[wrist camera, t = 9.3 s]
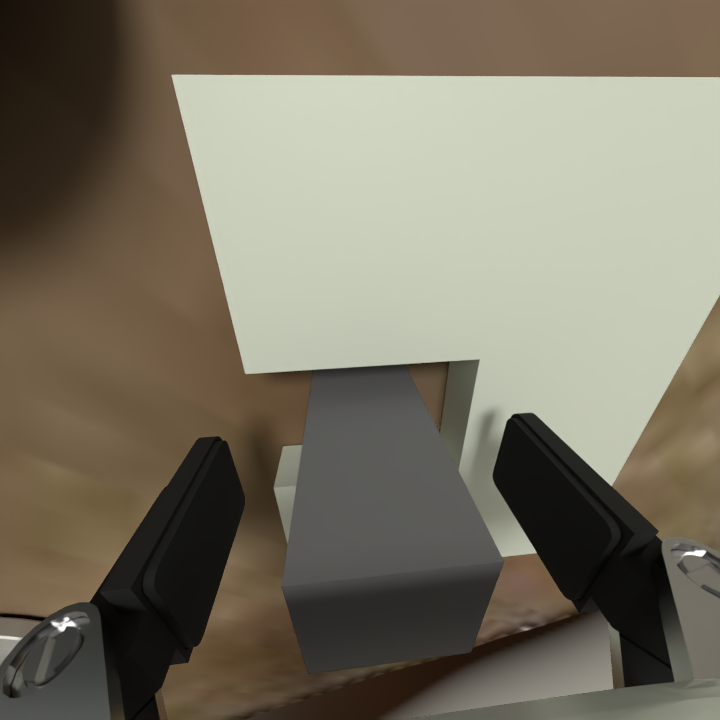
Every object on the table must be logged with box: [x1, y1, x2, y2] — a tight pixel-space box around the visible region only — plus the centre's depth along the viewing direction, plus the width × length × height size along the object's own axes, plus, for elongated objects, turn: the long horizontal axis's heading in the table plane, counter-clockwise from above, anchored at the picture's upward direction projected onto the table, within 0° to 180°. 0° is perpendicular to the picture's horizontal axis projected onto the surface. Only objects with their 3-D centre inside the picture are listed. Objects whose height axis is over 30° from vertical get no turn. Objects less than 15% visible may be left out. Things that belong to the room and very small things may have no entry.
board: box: [172, 75, 720, 557], centre depth 12 cm, size 20×16×2 cm
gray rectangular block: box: [282, 364, 504, 674], centre depth 9 cm, size 4×4×8 cm
